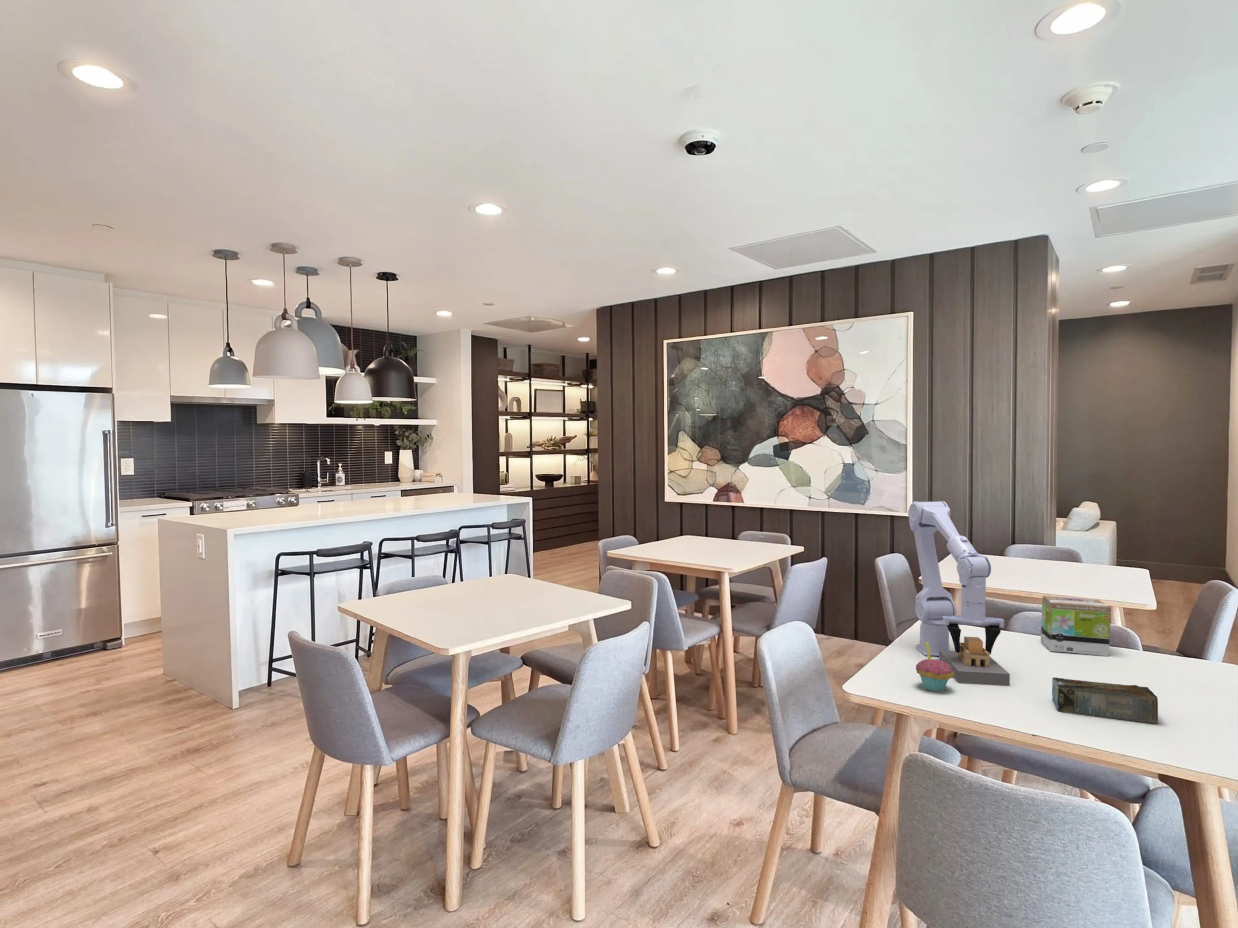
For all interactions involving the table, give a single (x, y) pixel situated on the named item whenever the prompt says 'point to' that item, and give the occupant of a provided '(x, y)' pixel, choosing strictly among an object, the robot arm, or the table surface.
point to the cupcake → (934, 672)
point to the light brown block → (973, 644)
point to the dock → (975, 671)
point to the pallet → (974, 657)
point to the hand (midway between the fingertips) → (972, 652)
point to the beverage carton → (1105, 700)
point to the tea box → (1075, 625)
